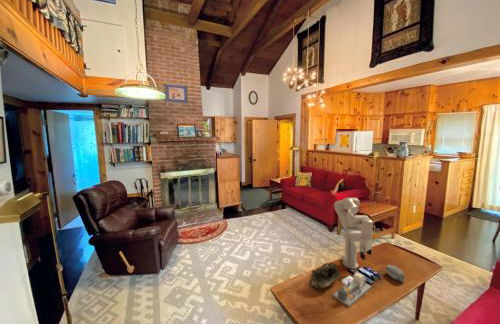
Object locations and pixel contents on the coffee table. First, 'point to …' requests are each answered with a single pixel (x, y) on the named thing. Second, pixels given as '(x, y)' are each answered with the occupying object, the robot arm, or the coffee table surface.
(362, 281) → the sleeve
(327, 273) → the hollow geode rock
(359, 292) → the grey support base
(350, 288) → the pale green crossbeam
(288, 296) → the coffee table surface
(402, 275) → the streaked grey egg
